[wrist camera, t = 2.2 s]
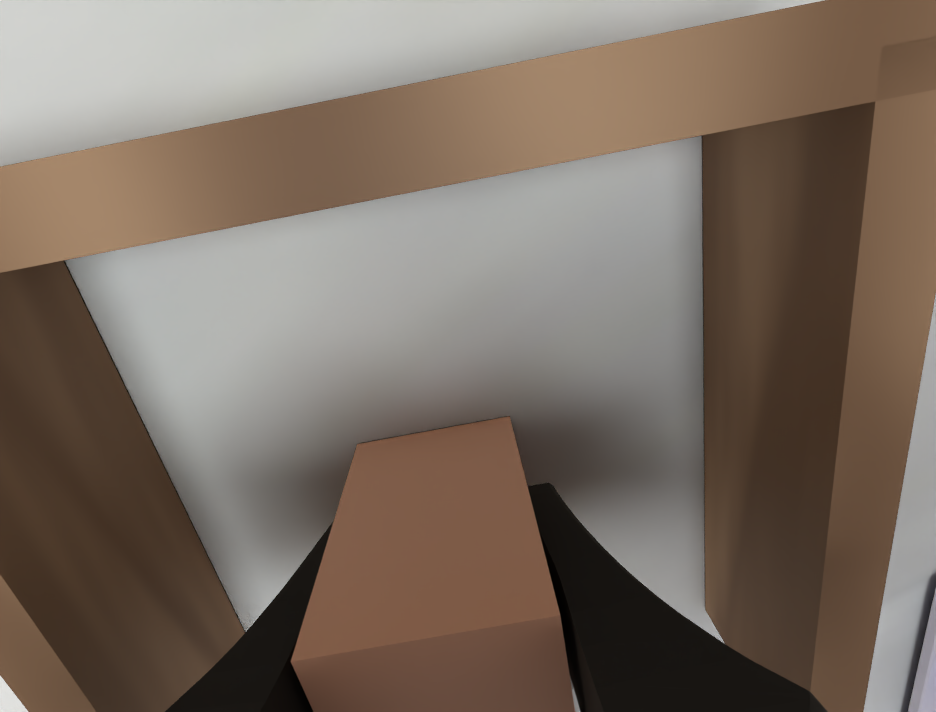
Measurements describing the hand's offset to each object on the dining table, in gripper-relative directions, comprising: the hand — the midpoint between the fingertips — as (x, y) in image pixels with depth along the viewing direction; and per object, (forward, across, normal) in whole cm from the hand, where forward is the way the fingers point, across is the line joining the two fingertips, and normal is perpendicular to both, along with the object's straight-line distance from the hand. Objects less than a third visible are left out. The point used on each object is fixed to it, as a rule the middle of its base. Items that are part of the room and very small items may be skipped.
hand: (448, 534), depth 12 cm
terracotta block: (+2, 0, 0) cm, 2 cm away
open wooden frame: (+2, 0, -1) cm, 2 cm away
